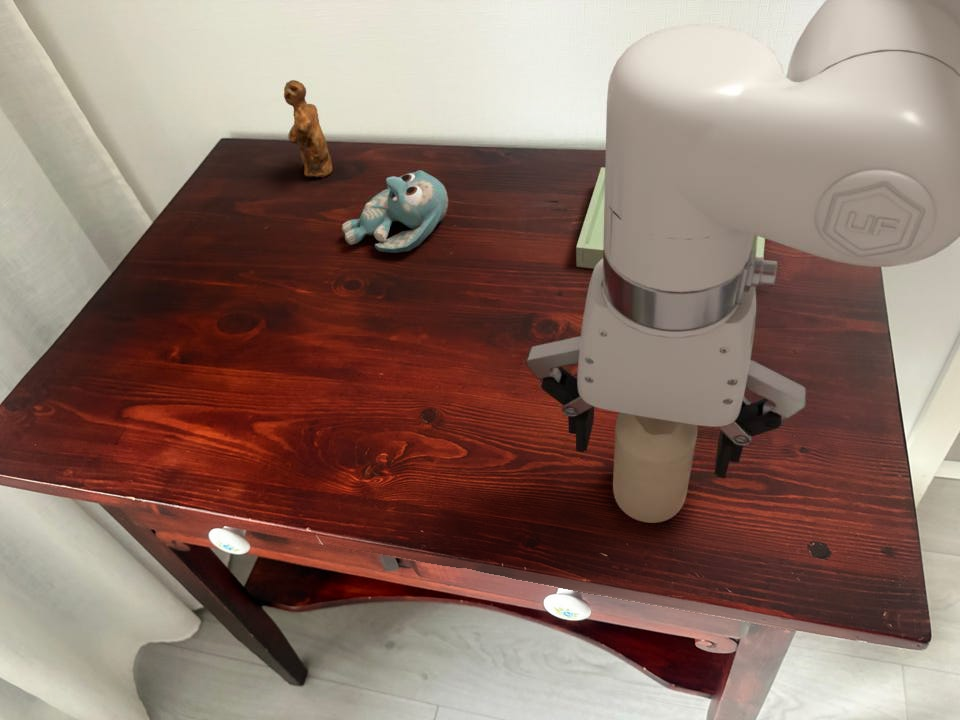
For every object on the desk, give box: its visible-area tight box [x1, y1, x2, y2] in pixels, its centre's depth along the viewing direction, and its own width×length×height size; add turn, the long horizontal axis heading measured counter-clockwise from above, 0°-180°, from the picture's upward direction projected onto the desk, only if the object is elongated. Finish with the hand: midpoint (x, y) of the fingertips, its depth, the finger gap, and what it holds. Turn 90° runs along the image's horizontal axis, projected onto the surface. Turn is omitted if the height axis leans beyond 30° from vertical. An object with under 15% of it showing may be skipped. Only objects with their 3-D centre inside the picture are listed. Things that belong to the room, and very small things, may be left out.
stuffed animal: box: [341, 169, 449, 254], centre depth 80 cm, size 11×7×12 cm
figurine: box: [283, 79, 334, 179], centre depth 87 cm, size 5×6×12 cm
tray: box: [575, 166, 766, 270], centre depth 76 cm, size 17×13×3 cm
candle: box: [612, 412, 698, 524], centre depth 54 cm, size 6×6×10 cm
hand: (651, 447), depth 54 cm, fingers open, 9 cm apart
